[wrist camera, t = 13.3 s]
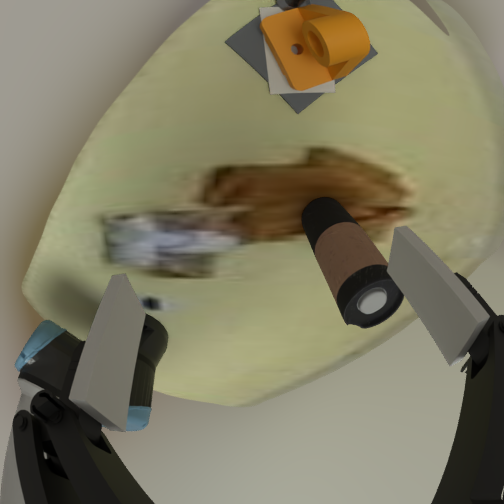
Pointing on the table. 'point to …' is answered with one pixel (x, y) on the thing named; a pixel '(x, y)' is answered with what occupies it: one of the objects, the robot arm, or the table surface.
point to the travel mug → (350, 264)
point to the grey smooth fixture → (291, 4)
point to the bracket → (315, 44)
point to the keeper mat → (262, 60)
